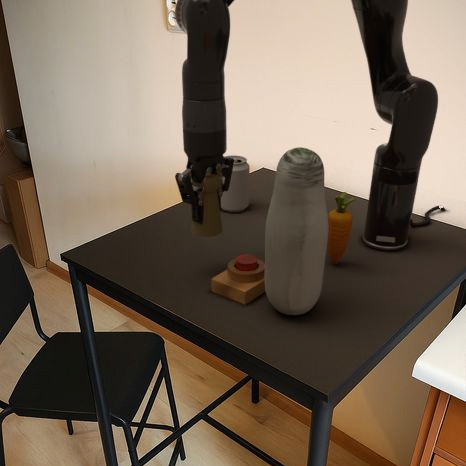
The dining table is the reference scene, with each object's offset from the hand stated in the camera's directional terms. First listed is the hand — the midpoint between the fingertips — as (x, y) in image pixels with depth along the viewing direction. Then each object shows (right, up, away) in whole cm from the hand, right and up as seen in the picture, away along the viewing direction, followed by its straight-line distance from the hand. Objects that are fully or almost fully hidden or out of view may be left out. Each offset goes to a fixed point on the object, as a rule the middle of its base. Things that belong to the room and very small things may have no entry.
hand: (206, 219), depth 110 cm
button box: (+7, -13, +2) cm, 15 cm away
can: (+5, +10, +34) cm, 36 cm away
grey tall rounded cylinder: (+15, -17, -5) cm, 24 cm away
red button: (+7, -9, -1) cm, 12 cm away
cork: (0, -2, +1) cm, 2 cm away
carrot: (+26, -7, +9) cm, 28 cm away
